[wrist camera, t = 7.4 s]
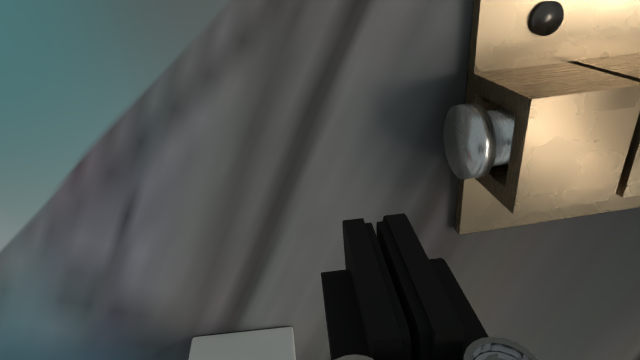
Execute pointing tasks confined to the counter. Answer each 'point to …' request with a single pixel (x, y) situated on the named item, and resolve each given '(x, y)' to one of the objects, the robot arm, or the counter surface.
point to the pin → (477, 139)
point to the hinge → (556, 110)
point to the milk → (245, 345)
